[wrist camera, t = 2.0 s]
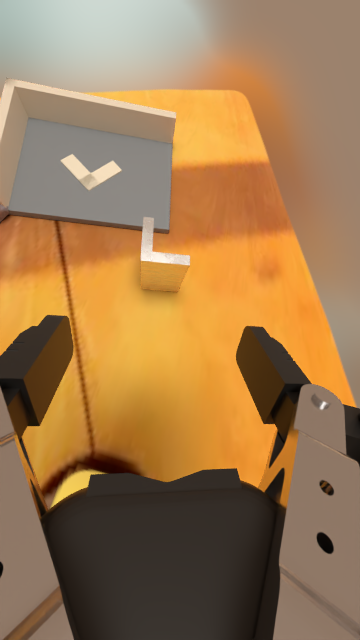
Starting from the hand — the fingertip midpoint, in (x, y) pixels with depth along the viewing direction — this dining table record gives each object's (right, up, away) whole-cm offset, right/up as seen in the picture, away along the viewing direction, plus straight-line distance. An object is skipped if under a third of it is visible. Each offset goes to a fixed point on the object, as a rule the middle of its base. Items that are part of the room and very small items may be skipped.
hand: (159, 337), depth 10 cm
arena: (-13, +24, +26) cm, 37 cm away
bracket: (-2, +8, +24) cm, 25 cm away
